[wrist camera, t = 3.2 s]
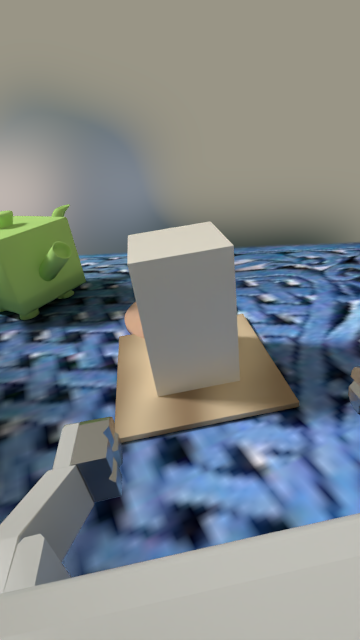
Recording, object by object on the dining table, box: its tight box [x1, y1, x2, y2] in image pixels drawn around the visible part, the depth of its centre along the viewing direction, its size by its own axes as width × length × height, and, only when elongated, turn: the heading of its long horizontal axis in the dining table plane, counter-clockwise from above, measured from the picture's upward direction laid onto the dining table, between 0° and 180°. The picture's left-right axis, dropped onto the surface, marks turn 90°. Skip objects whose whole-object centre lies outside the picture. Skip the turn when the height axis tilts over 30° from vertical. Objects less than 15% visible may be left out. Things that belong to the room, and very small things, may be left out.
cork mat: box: [115, 314, 299, 443], centre depth 26 cm, size 12×12×1 cm
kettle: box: [0, 205, 86, 320], centre depth 39 cm, size 15×14×11 cm
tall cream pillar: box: [128, 222, 240, 397], centre depth 23 cm, size 6×6×10 cm
